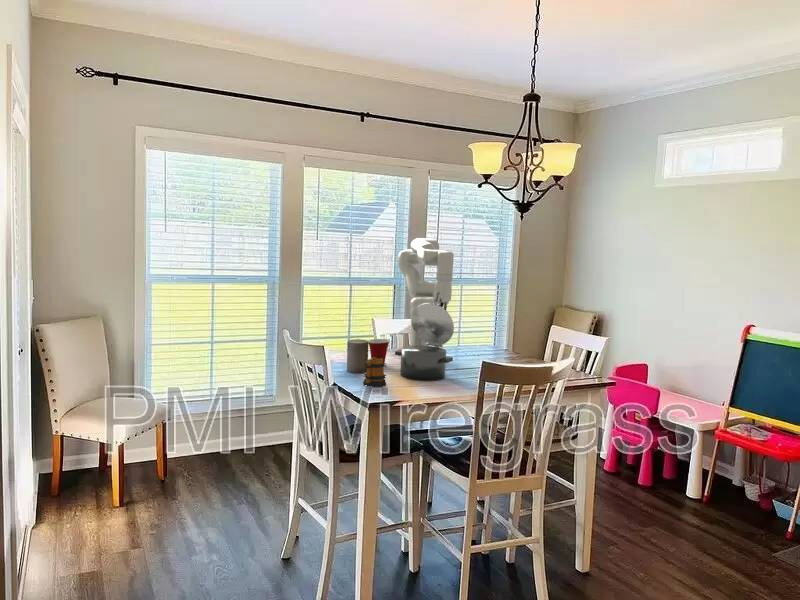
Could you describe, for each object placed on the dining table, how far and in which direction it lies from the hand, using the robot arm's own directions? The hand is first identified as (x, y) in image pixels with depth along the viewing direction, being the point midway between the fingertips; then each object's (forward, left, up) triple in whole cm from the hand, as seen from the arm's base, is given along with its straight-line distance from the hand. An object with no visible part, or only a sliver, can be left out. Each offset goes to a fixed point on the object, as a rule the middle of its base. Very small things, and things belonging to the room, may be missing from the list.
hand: (442, 316), depth 293 cm
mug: (-8, -46, -25) cm, 53 cm away
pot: (0, -17, -25) cm, 30 cm away
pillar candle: (-28, -28, -25) cm, 47 cm away
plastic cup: (-28, -10, -25) cm, 39 cm away
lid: (0, -10, -3) cm, 11 cm away
